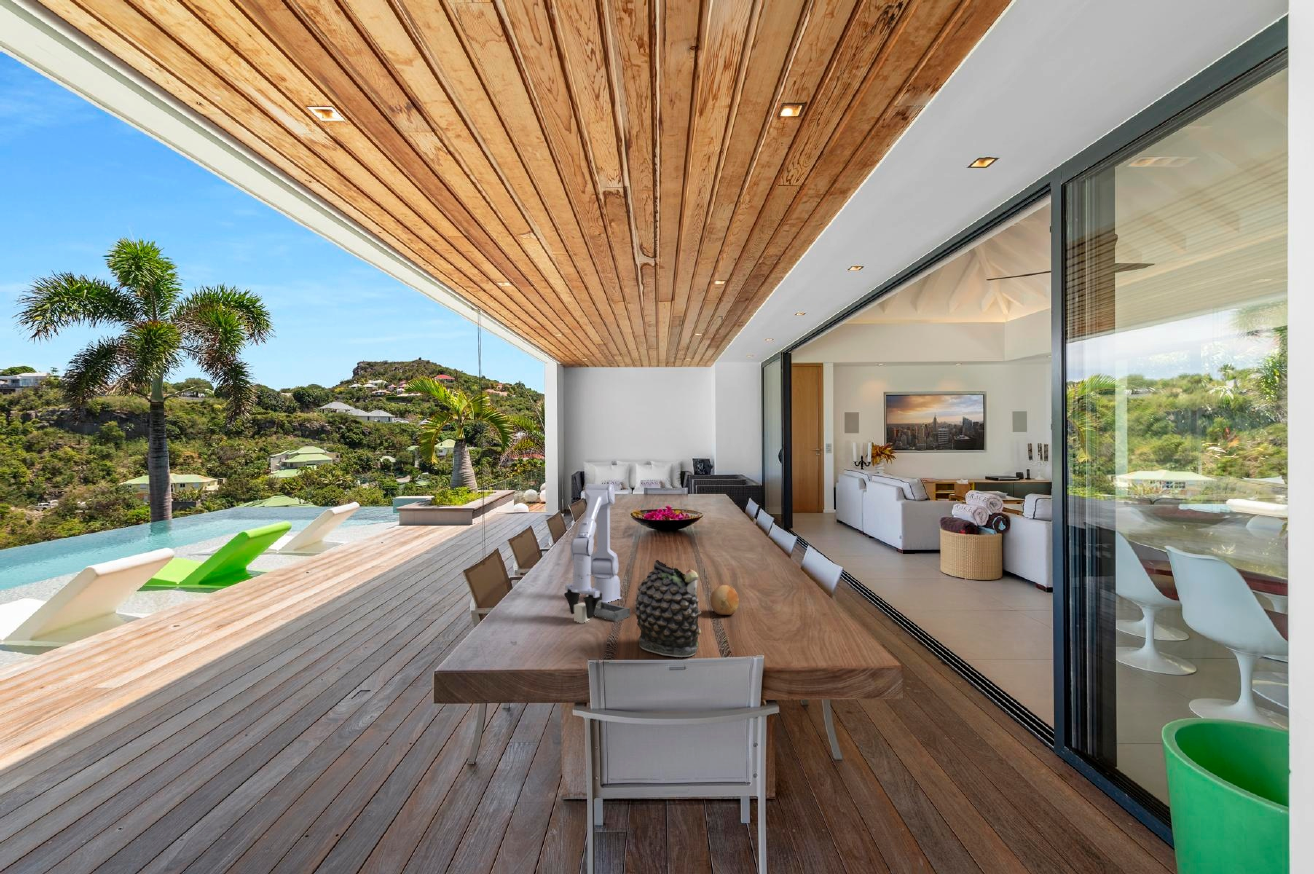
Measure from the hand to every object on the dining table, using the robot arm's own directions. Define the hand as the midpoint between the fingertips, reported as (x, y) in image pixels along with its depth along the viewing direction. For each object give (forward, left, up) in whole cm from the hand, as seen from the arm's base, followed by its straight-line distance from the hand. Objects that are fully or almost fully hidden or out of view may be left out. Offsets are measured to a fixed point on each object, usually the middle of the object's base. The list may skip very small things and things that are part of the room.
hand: (582, 615), depth 194 cm
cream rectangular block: (0, 0, -2) cm, 2 cm away
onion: (-36, +32, -2) cm, 48 cm away
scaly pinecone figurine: (+2, +38, -2) cm, 38 cm away
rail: (-10, +1, -2) cm, 10 cm away
